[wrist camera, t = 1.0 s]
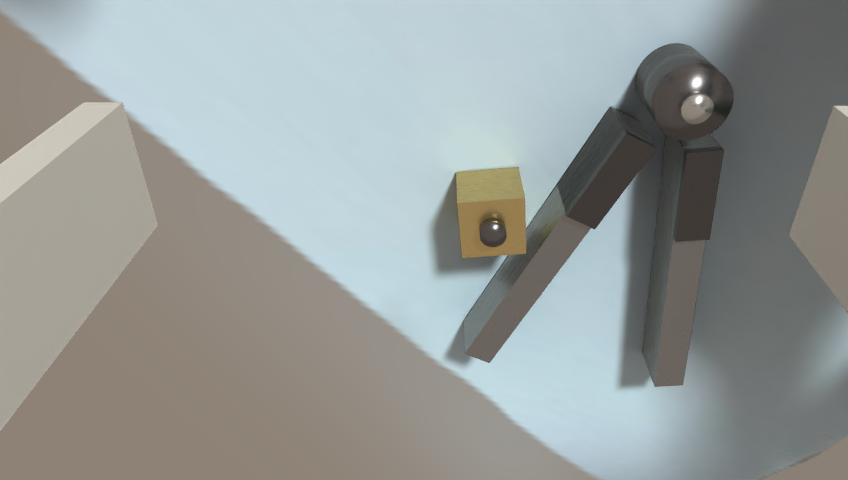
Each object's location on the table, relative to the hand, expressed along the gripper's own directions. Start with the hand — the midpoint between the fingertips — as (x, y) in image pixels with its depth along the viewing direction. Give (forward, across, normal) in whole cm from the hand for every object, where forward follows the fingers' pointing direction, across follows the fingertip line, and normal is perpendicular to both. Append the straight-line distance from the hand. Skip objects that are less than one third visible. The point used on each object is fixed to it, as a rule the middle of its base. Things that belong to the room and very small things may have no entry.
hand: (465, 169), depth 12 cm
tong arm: (+26, +5, -18) cm, 32 cm away
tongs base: (+27, +13, -17) cm, 34 cm away
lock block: (+26, +2, -15) cm, 30 cm away
